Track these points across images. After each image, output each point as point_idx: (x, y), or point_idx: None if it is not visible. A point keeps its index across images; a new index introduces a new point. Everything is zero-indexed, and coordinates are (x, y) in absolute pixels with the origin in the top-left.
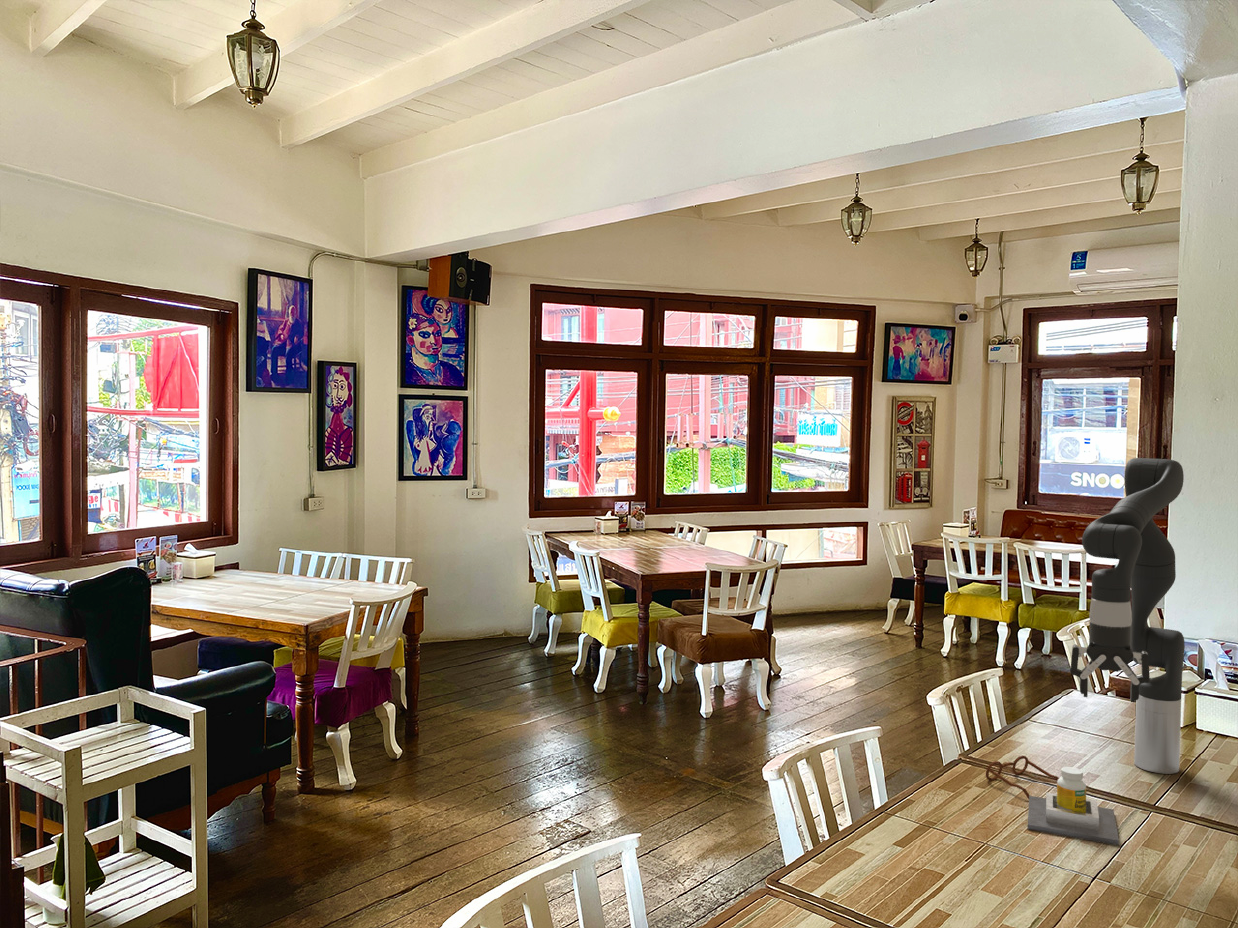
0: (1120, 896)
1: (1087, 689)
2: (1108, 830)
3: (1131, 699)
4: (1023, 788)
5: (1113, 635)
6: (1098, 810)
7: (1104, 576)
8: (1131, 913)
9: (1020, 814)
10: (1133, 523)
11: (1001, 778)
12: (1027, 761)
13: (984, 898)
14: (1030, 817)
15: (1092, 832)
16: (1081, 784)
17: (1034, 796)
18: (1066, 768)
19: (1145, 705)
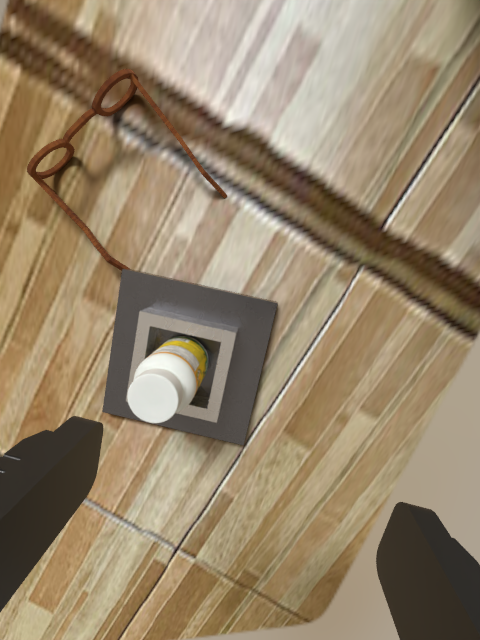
0: (199, 591)
1: (51, 542)
2: (237, 408)
3: (384, 585)
4: (106, 259)
5: None
6: (245, 316)
7: None
8: (200, 627)
9: (102, 346)
10: None
11: (65, 209)
12: (130, 78)
13: (32, 619)
14: (110, 381)
15: (207, 421)
16: (179, 407)
17: (132, 272)
18: (141, 388)
19: None
